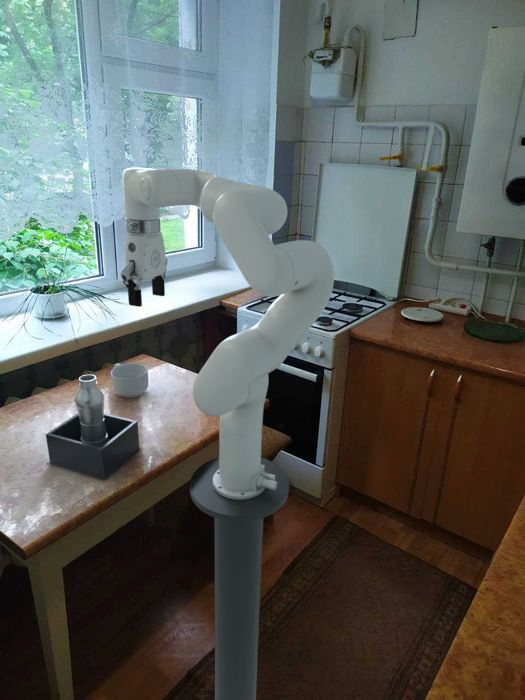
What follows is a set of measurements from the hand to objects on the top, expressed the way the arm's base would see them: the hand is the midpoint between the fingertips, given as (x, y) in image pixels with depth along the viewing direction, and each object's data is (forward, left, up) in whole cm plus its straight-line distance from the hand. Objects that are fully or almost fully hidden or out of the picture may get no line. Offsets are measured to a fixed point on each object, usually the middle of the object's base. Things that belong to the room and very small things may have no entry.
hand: (147, 300), depth 117 cm
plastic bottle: (+7, +15, -36) cm, 39 cm away
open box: (+7, +15, -36) cm, 40 cm away
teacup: (+20, -17, -36) cm, 45 cm away
